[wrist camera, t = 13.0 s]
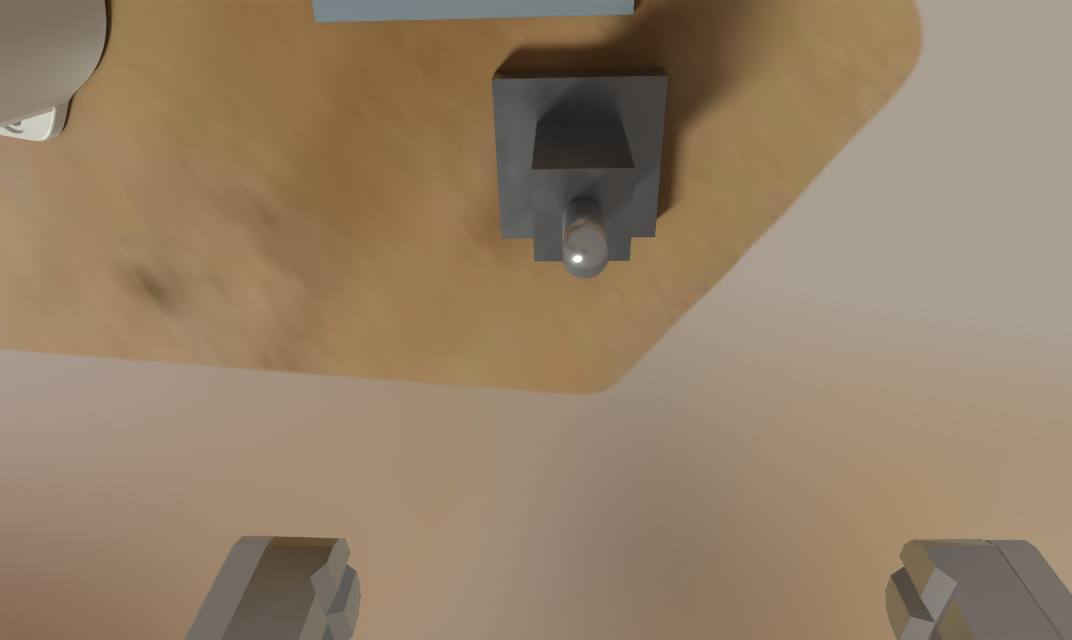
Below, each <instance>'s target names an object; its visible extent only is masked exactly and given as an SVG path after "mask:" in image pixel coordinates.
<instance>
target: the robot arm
mask: <svg viewBox="0 0 1072 640" xmlns="http://www.w3.org/2000/svg"><path fill="white" fill-rule="evenodd" d="M105 36H106V8H105V1H104V0H0V135H4V136H10V137H16V138H22V139H28V140H34V141H44V140H48V139H51V138H55V137H57V136H58V135H59V134H60V133H61V131H62V129H63V127H64V123H65V119H66V114H67V109H68V103H69V100H70V99H71V97H72V96H73V94H74V93H75V92H76V91H77V90H78V89H79V88H80V87H81V86H82V85H83V84H84V83H85V82H86V80H87V79H88V78H89V77H90V76H91V74H92V73H93V71H94V70H95V68H96V66H97V64H98V62H99V59H100V57H101V54H102V51H103V47H104V42H105ZM349 555H350V550H349V547H348V545H347V542H346V539H345V538H311V537H278V536H242V537H241V538H240V539H239V540H238V541H237V542H236V543H235V544H234V545H233V546H232V548H231V550H230V552H229V554H228V556H227V558H226V559H225V561H224V563H223V565H222V567H221V569H220V571H219V573H218V575H217V576H216V578H215V580H214V582H213V584H212V586H211V588H210V590H209V592H208V593H207V595H206V597H205V599H204V601H203V603H202V605H201V607H200V609H199V611H198V613H197V615H196V616H195V618H194V620H193V622H192V624H191V626H190V628H189V629H188V631H187V633H186V635H185V637H184V639H183V640H349V639H350V638H351V637H352V636H353V633H354V629H355V626H356V622H357V618H358V613H359V604H360V596H361V595H360V583H359V578H358V575H357V572H356V571H355V570H354V569H353V568H351V567H350V566H348V565H347V561H348V558H349ZM899 556H900V558H901V560H902V562H903V564H904V567H903V568H901V569H900V570H898V571H897V572H895V573H894V574H892V575H891V576H890V579H889V582H888V584H887V587H886V590H885V594H886V610H887V614H888V618H889V621H890V625H891V627H892V629H893V632H894V634H895V636H896V639H897V640H1072V595H1071V593H1070V592H1069V590H1068V589H1067V588H1066V587H1065V585H1064V584H1063V582H1062V581H1061V580H1060V579H1059V577H1058V576H1057V574H1056V573H1055V572H1054V571H1053V569H1052V568H1051V567H1050V565H1049V564H1048V563H1047V561H1046V560H1045V559H1044V557H1043V556H1042V555H1041V553H1040V552H1039V551H1038V550H1037V548H1036V547H1035V546H1033V545H1032V544H1030V543H1029V542H1027V541H1025V540H982V539H936V540H934V539H933V540H932V539H931V540H911V541H909V542H907V543H906V544H904V546H903V549H902V551H901V553H900V555H899Z"/></svg>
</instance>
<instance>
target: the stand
mask: <svg viewBox="0 0 1072 640" xmlns="http://www.w3.org/2000/svg"><path fill="white" fill-rule="evenodd" d="M667 87H668V74H667V73H666V71H665V70H664V68H649V69H601V70H554V71H507V72H495V73H494V75H493V78H492V91H493V107H494V123H495V139H496V155H497V171H498V187H499V203H500V219H501V235H502V238H534V261H563V263H564V266H565V268H566V269H567V270H568V271H569V272H570V273H571V274H572V275H574V276H577V277H581V278H589V277H593V276H596V275H597V274H599V273H600V272H602V271H603V269H604V268H605V266H606V264H607V261H630V246H631V237H655V229H656V217H657V205H658V193H659V182H660V170H661V158H662V146H663V134H664V122H665V110H666V98H667Z"/></svg>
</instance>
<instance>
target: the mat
mask: <svg viewBox="0 0 1072 640" xmlns="http://www.w3.org/2000/svg"><path fill="white" fill-rule="evenodd" d="M312 5H313V10H314V15H315V20H316V22H346V21H387V20H427V19H468V18H508V17H549V16H589V15H629V14H633V13H634V0H312Z"/></svg>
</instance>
